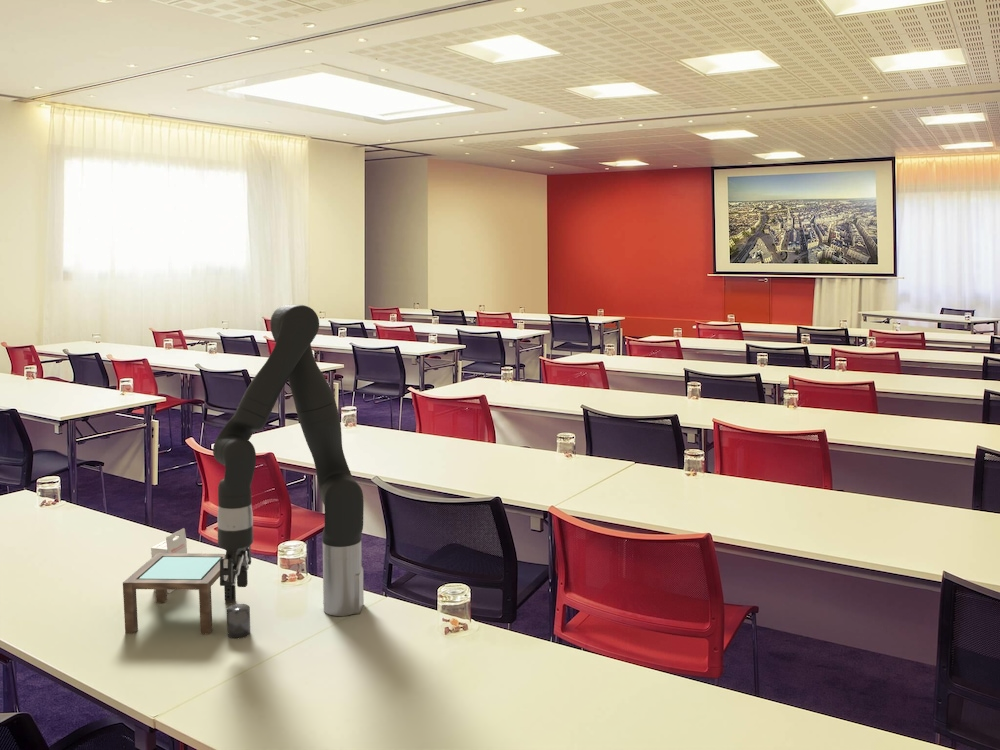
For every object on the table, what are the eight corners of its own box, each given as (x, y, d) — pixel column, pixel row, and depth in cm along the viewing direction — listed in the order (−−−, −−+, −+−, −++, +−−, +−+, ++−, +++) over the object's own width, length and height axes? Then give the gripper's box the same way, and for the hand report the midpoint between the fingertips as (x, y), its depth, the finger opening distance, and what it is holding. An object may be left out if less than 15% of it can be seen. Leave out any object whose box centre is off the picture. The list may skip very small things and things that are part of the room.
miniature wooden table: (235, 600, 204) (234, 553, 202) (209, 634, 185) (207, 583, 183) (159, 599, 204) (157, 553, 202) (125, 633, 185) (122, 582, 183)
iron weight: (253, 628, 188) (252, 604, 187) (246, 638, 183) (245, 613, 182) (231, 628, 188) (230, 603, 187) (224, 638, 183) (223, 613, 182)
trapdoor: (221, 561, 200) (220, 557, 200) (200, 583, 186) (200, 579, 186) (163, 560, 200) (163, 556, 200) (138, 582, 186) (138, 578, 186)
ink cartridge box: (171, 579, 217) (169, 525, 215) (188, 581, 216) (186, 527, 214) (152, 591, 208) (149, 536, 207) (169, 593, 208) (167, 537, 206)
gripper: (242, 534, 175) (243, 607, 177) (261, 515, 189) (262, 582, 191) (207, 533, 175) (208, 606, 177) (229, 514, 189) (230, 581, 191)
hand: (236, 593), depth 184 cm, fingers open, 8 cm apart
